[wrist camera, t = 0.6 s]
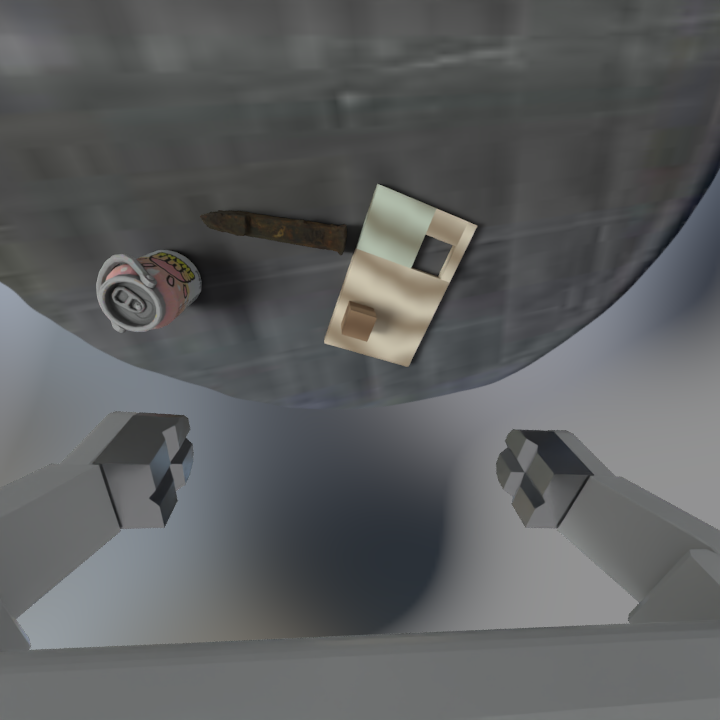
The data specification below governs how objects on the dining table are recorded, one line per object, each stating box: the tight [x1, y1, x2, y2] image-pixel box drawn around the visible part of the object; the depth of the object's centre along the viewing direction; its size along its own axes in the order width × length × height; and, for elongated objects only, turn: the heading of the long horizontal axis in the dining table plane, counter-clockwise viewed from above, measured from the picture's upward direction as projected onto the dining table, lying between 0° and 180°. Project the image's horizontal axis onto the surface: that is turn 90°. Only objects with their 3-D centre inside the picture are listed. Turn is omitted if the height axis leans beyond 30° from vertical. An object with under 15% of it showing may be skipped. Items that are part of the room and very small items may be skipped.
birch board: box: [324, 184, 477, 367], centre depth 50 cm, size 24×15×2 cm, turn 160°
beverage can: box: [96, 250, 202, 333], centre depth 42 cm, size 9×8×12 cm
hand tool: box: [200, 210, 347, 255], centre depth 43 cm, size 19×4×5 cm, turn 78°
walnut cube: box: [341, 301, 377, 342], centre depth 49 cm, size 4×4×4 cm
